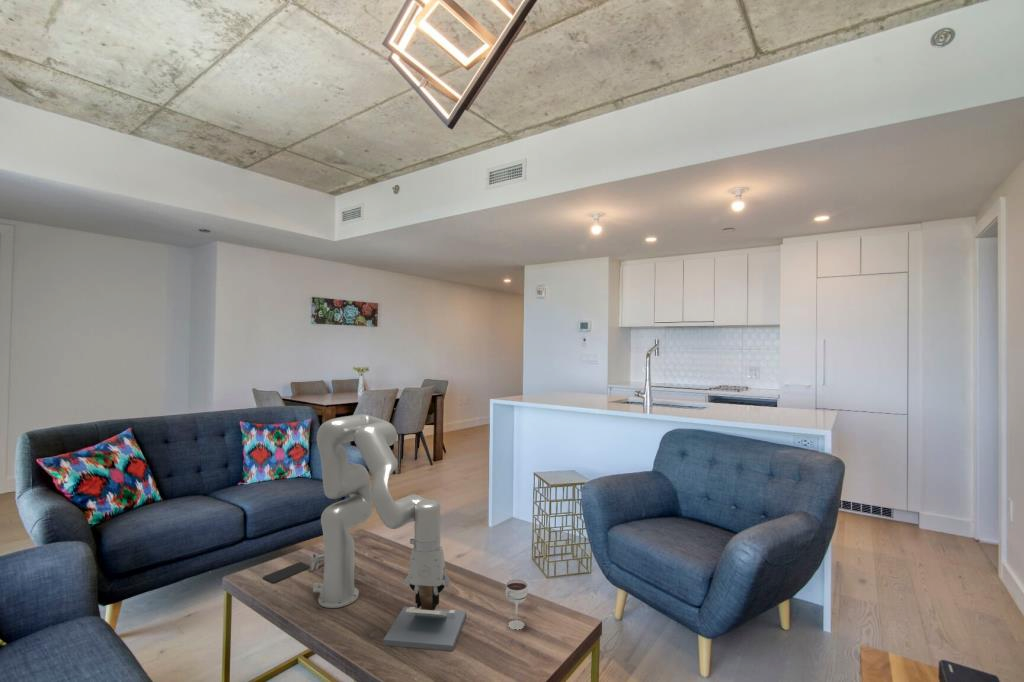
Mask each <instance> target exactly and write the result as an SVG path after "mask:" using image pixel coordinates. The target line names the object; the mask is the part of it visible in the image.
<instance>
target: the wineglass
mask: <svg viewBox="0 0 1024 682" xmlns="http://www.w3.org/2000/svg"><path fill="white" fill-rule="evenodd" d="M528 586H529V585H528V582H526V581H524V580H522V579H511V580H508V581H507V582H505V587H506V589H505V597H506V599H507V600H508V601H509V602H510V603H512V604H514V606H515V610H514V612H515V620H514V619H513V620H514V621H513V620H511V621H509V622H508V623H507V626H508V628H509V627H510V628H509V629H511V630H514V629H517V630H516V631H518V630H519V629H520V630H522V629H523V628H524V627H525V623H524V622H523V621H522V620H519V619H518V608H519V605H520V604H522V603H523V602H524V601H526V599H527V597H528V594H529V592H528ZM518 620H519V621H518ZM521 621H522V622H521ZM508 624H509V625H508ZM523 626H524V627H523ZM520 630H519V631H520Z"/></svg>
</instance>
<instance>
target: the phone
mask: <svg viewBox="0 0 1024 682" xmlns="http://www.w3.org/2000/svg"><path fill="white" fill-rule="evenodd" d="M307 570H310V564H306V563H304V562H302V561H301V562H296V563H294V564H291V565H289V566H286V567H283V568H281V569H278V570H276V571H274V572H272V573H269V574H267V575H264V576H263V577H262V579H263V580H264V581H266V582H267V583H270V584H277V583H280V582H281V581H284V580H286V579H289V578H291V577H293V576H295V575H298V574H300V573H303V572H305V571H307Z"/></svg>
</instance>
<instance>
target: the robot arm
mask: <svg viewBox="0 0 1024 682" xmlns="http://www.w3.org/2000/svg"><path fill="white" fill-rule="evenodd" d="M397 438H398V433H397V430H396V427H395V426H394V425H393V424H392V422H389V421H387V420H385V419H381V418H379V417H375V416H372V415H370V414H369V415H368V414H366V413H365V414H364V413H362V414H360V413H359V414H354V415H353V414H352V415H348V416H347V415H345V416H340V417H336V418H332V419H331V418H330V419H329V420H326V421H324V422H323V423H321V425H320V426H319V428H318V430H317V432H316V445H317V449H318V452H319V456H320V462H321V463H320V464H321V474H322V475H321V476H322V486H323V492H324V495H325V496H326V498H328V499H331V500H337V499H340V498H344V497H346V496H349V497H348V498H346V499H342V500H340V501H337V502H334V503H332V504H330V505H328V506H327V507H326V508H325V509H324V510H323V511H322V514H321V515H320V525H321V528H322V536H323V555H324V563H323V582H314V583H313V586H312V588H313V589H312V592H313V593H319V595H318V598H317V601H318V604H319V605H320V606H321V607H323V608H327V609H337V608H342V607H346V606H348V605H351V604H352V603H354V602H355V601H356V600H357V599H358V598H359V595H360V592H359V591H360V590H359V588H357V587H355V552H354V551H355V540H354V538H353V536H352V535H351V533H350V529H353V528H355V527H356V526H358V525H361V524H364V523H365V522H367V521H368V520H369V519H370V518H371V516H372V513H373V508H374V509H375V511H376V513H377V515H378V517H379V519H380V521H381V522H382V523H383V525H384V526H385V527H387V528H388V529H390V530H391V529H392V530H397V529H400V528H402V527H403V526H406V525H407V524H410V523H412V522H414V538H410V539H409V544H411V545H413V547H412V548H411V550H410V557H409V565H408V574H407V575H406V577H405V579H404V580H403V582H404V583H405V584H406V585H407V586H409V588H410V589H411V590H412V591H413V594H414V595H415V602H414V603H415V604H416V607H417V608H421V602H420V595H419V588H418V586H433V590H434V594H433V596H432V608H433V609H437V606H439V604H440V593H441V592H443V591H442V590H444V589H445V588H447V587H449V586H450V585H451V583H452V581H451V578H449V576H448V575H447V573H446V562H445V561H446V560H445V555H444V549H443V546H441V504H440V502H439V501H437V500H435V499H428V498H425V497H423V496H421V495H418V494H415V493H412V494H409V495H407V496H404V497H401V498H399V499H396V500H394V498H393V496H392V494H391V492H390V488H389V480H390V476H391V474H392V473H393V472H394V471H395V470H396V469H397V467H398V466H399V465H398V464H399V462H398V460H397V458H396V456H395V454H394V453H393V451H392V449H391V447H390V446H393V445H394V444H395V443H396V441H397ZM349 442H354V444H355V445H356V447H357V449H358V451H359V453H360V455H361V457H362V459H363V460H364V462H365V464H366V466H367V468H368V470H369V472H370V473H371V476H372V481H371V477H370V473H369V472H368V470H367V468H366V467H365V466H364V465H362V464H361V463H353V464H349V455H348V452H347V450H346V448H345V447H344V446H343V445H342V444H345V443H349Z"/></svg>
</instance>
